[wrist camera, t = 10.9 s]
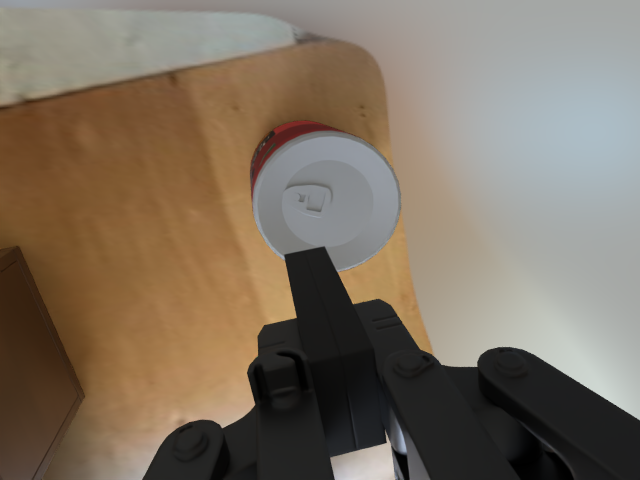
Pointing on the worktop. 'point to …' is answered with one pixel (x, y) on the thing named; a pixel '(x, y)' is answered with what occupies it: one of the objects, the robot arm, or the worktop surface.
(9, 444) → the storage box
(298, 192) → the canned food
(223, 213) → the worktop surface
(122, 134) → the worktop surface
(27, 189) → the worktop surface
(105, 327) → the worktop surface
